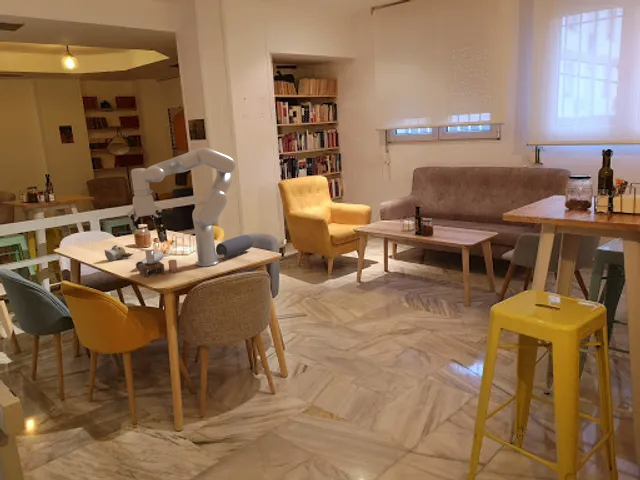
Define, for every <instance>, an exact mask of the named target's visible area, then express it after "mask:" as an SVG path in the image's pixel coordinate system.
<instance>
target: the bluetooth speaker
mask: <svg viewBox="0 0 640 480" xmlns="http://www.w3.org/2000/svg"><path fill="white" fill-rule="evenodd" d="M253 245H254V242H253V239H252V237H251V235H249V234H244V235H240V236H236V237H233V238H230V239H227V240H224V241H222V242H219V243H218V244H217V245H216V246H215V254H217V255H218V254H220V255H221V254H224V258H234V257H237V256H239V255H242V254H243V252H245V251H247V250H250V249H251V248H252V247H253ZM224 258H223V259H224Z"/></svg>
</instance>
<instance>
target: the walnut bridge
mask: <svg viewBox="0 0 640 480" xmlns="http://www.w3.org/2000/svg"><path fill="white" fill-rule="evenodd" d="M152 269H156V272H158V273H159V274H161V275H165V274H166V271H165V264H164V263H163V262H161V261H160V260H159V261H158V260H157V261H155V265H151V266H147V263H142V264H139V270H138V271H139V274H140V275H141V276H142V277H144V278H145V277H146V278H149V274H148V270H152Z"/></svg>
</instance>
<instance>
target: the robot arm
mask: <svg viewBox="0 0 640 480" xmlns="http://www.w3.org/2000/svg"><path fill="white" fill-rule="evenodd" d="M204 165H206V166H208V167H211V168H213V169H215V171H216V177H215V179H214V181H213V183H212V184H211V185H210V187H209V189H208V190H207V191H206V193H205V195H204V202H205V203H204V205H197V206H196V207H195V208H194V209H193V210H192V215H191V216H192V222H193V228H194V233H195V235H194V236H195V243H196V244H195V245H196V253H197V261H195V266H196V267H212V266H215V265H216V266H217V264H219V263H220V260H219V259H224V254H221V255H220V254H218V255H217V253H216V246H215V237H214V227H213V225H214V223H216V221H217V220H218V219H219V216H220V215H221V214H222V212H223V211H224V209H225V207H226V206H227V202H228V198H227V197H228V196H227V192H228V190H229V188H230V186H231V185H232V182H233V172H234V170H235V169H236V161H235V160H234V159H233V157H230V156H229V155H226V154H223V153H221V152H218V151H216V150H214V149H212V148H210V147H199V148H196V149H194V150H191V151H189V152H185V153H183V154H180V155H178V156H174V157H172V158H169V159H167V160H164V161H160V162H158V163H155V164H153V165H152V164H151V166H148V168H145V167H138V168H133V169H131V171H130V173H131V180H132V188H133V193H134V194H133V195H134V196H133V197H132V209H131V210H129V211H128V212H126V215H127V216H128V217H129V219H130V220H132V221H133V225H134V228H136V229H137V230H138V229H140V227H139V221H138V219H139V218H140V217H142V218H143V217H146V216H153V221H154V226H156V227H157V226H159V223H160V222H159V218H160V215H161V213H162V211H163V208H162V207H160V206H157V205H155V201H154V198H153V195H152V193H154V190H153V189H150V183H159V182H162V181H163V180H164V178H165V177H167V176H170V175H173V174H180V173H185V172H188V171H190V170H194V169H196V168H198V167H201V166H204ZM156 210H158V211H156ZM132 214H133V216H132Z"/></svg>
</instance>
